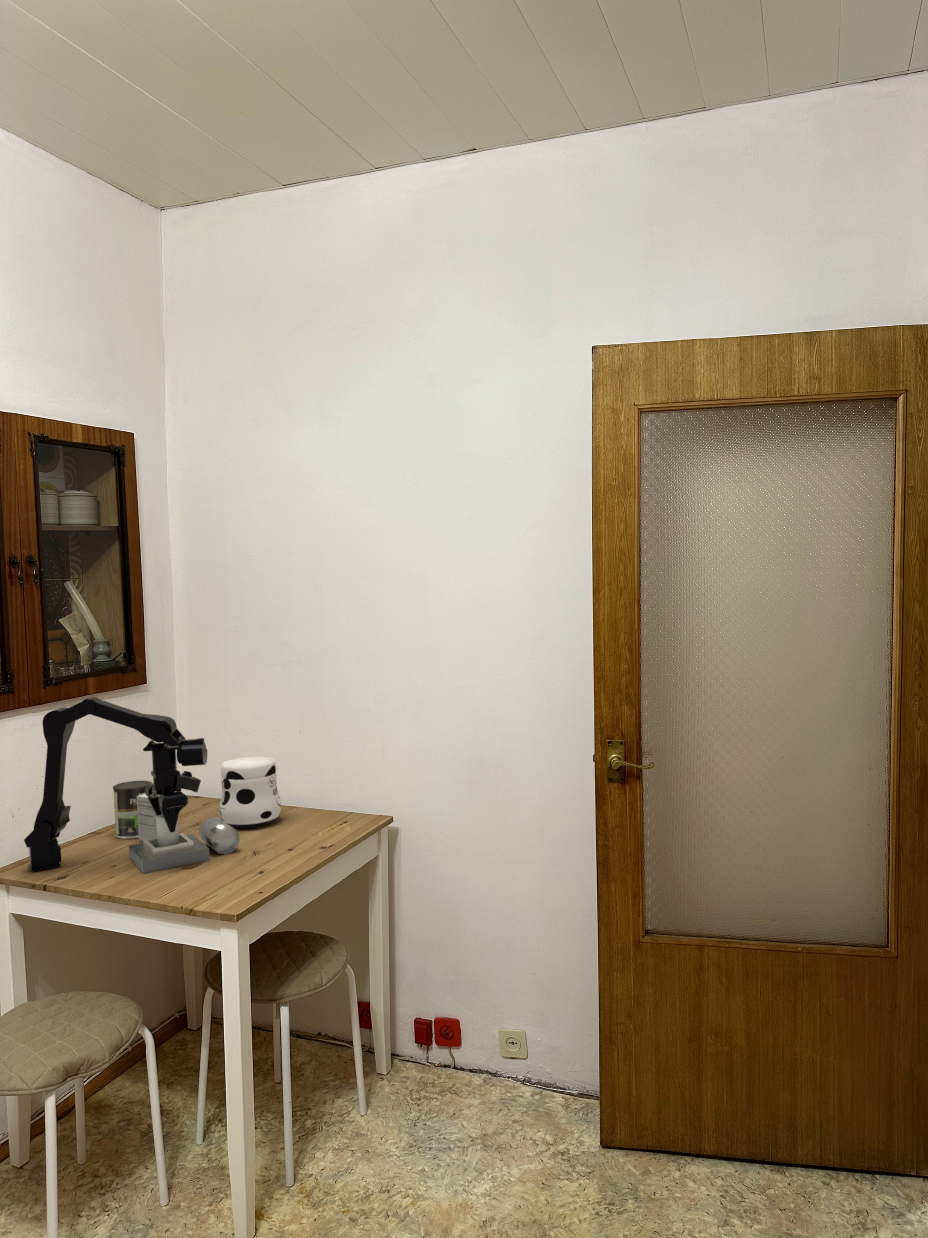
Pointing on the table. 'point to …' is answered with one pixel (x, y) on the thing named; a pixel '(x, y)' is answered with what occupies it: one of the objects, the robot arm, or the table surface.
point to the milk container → (249, 792)
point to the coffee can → (127, 808)
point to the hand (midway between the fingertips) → (167, 828)
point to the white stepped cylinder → (165, 833)
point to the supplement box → (146, 819)
